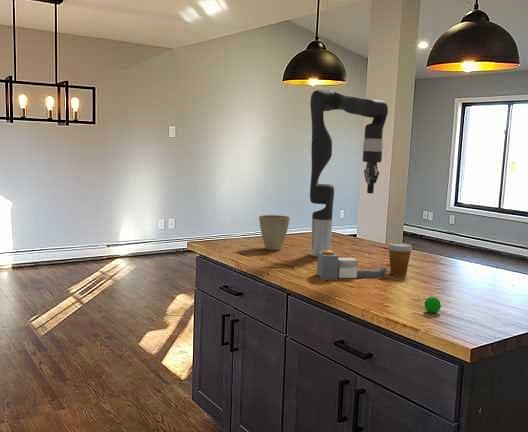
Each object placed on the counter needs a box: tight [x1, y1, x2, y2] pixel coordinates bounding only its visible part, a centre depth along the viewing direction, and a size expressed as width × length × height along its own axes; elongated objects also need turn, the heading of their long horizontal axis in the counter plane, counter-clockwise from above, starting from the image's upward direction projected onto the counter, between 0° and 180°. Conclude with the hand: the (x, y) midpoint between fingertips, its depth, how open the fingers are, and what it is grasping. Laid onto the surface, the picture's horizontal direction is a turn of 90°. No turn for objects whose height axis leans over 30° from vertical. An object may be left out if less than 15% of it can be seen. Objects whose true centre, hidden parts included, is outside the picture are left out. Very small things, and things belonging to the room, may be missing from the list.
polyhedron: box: [423, 296, 442, 314], centre depth 175 cm, size 5×5×5 cm
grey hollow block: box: [316, 252, 340, 280], centre depth 219 cm, size 9×6×9 cm, turn 7°
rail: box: [357, 265, 387, 279], centre depth 221 cm, size 3×20×4 cm, turn 97°
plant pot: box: [258, 214, 291, 251], centre depth 275 cm, size 15×15×16 cm
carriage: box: [338, 257, 358, 279], centre depth 220 cm, size 5×7×7 cm
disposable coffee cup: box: [387, 242, 413, 276], centre depth 229 cm, size 10×10×12 cm
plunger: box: [322, 249, 335, 255], centre depth 219 cm, size 4×4×5 cm
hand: (370, 193), depth 229 cm, fingers closed
